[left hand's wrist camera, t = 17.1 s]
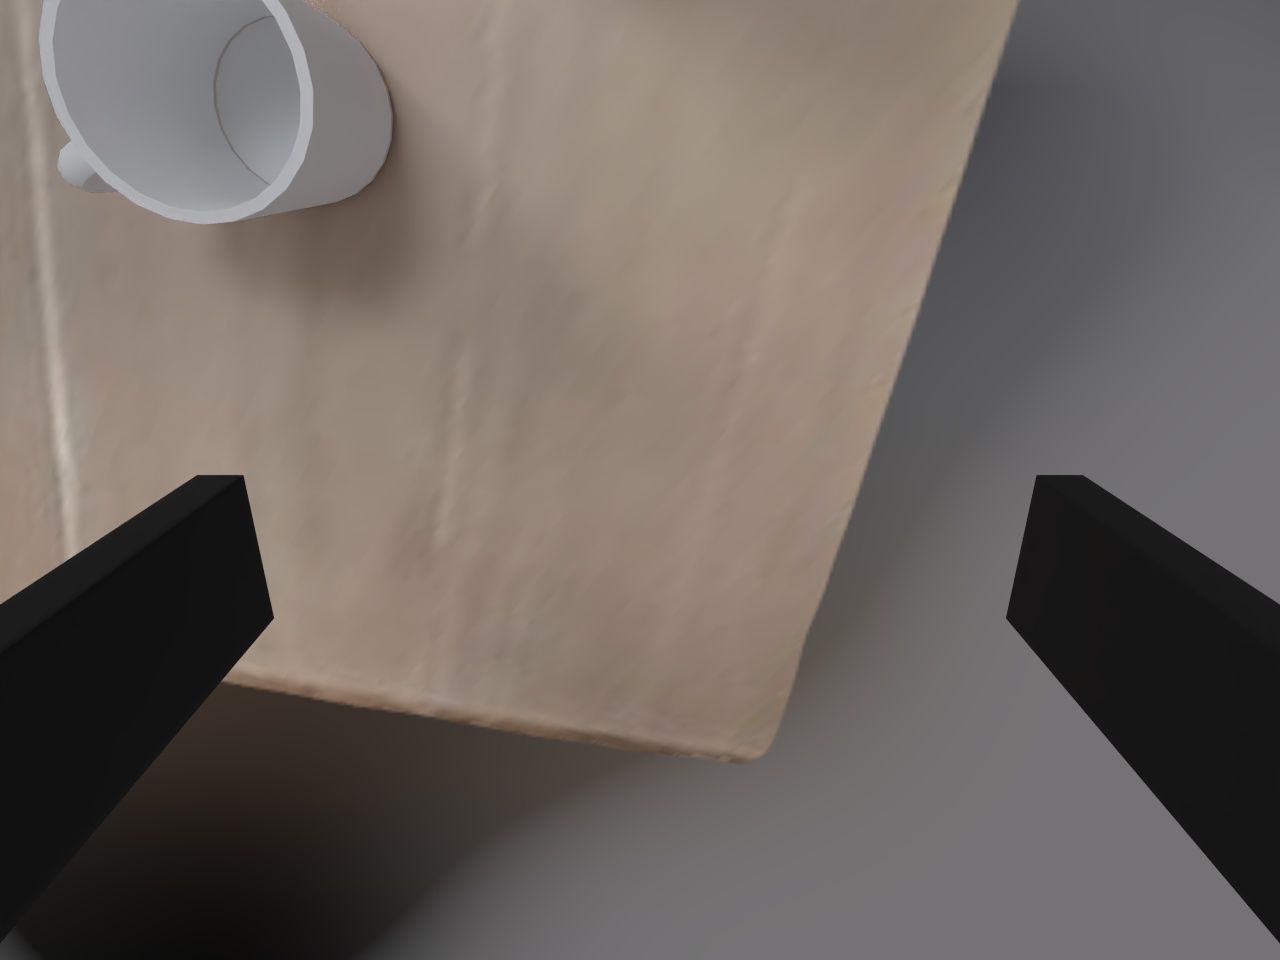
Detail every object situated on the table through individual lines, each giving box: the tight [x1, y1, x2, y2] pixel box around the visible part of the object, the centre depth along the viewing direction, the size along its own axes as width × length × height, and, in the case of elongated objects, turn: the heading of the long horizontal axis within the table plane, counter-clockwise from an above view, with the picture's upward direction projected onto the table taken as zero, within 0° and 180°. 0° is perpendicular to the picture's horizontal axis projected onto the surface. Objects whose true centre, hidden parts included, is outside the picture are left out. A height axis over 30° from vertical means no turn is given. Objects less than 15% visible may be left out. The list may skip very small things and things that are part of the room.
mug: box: [39, 0, 393, 225], centre depth 30 cm, size 11×9×10 cm
